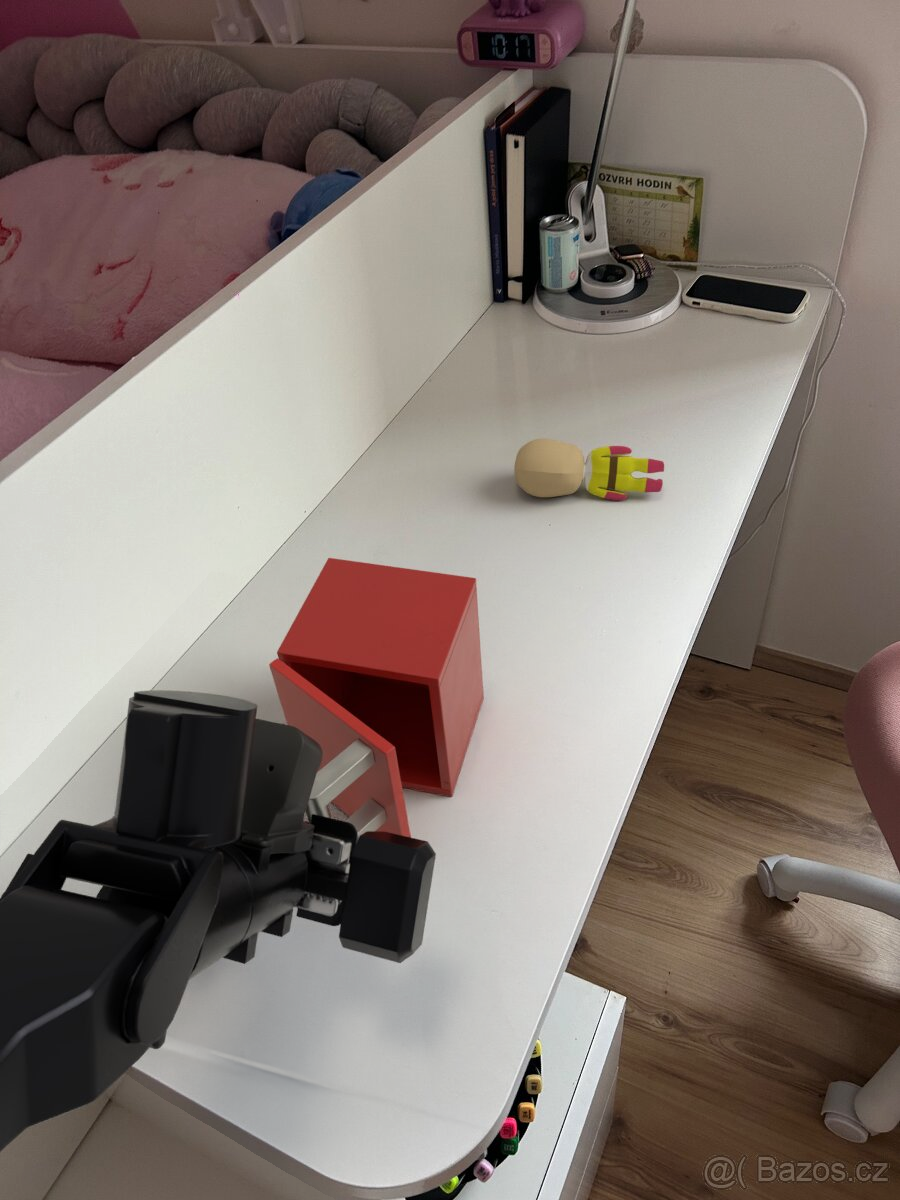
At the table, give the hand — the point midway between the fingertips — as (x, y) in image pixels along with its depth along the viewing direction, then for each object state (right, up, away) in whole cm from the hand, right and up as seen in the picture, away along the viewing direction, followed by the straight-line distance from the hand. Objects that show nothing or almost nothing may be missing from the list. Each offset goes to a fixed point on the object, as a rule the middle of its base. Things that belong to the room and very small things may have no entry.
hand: (326, 833), depth 60 cm
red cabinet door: (-1, -2, +8) cm, 8 cm away
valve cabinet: (+4, +4, +14) cm, 16 cm away
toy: (+22, +26, +35) cm, 49 cm away
